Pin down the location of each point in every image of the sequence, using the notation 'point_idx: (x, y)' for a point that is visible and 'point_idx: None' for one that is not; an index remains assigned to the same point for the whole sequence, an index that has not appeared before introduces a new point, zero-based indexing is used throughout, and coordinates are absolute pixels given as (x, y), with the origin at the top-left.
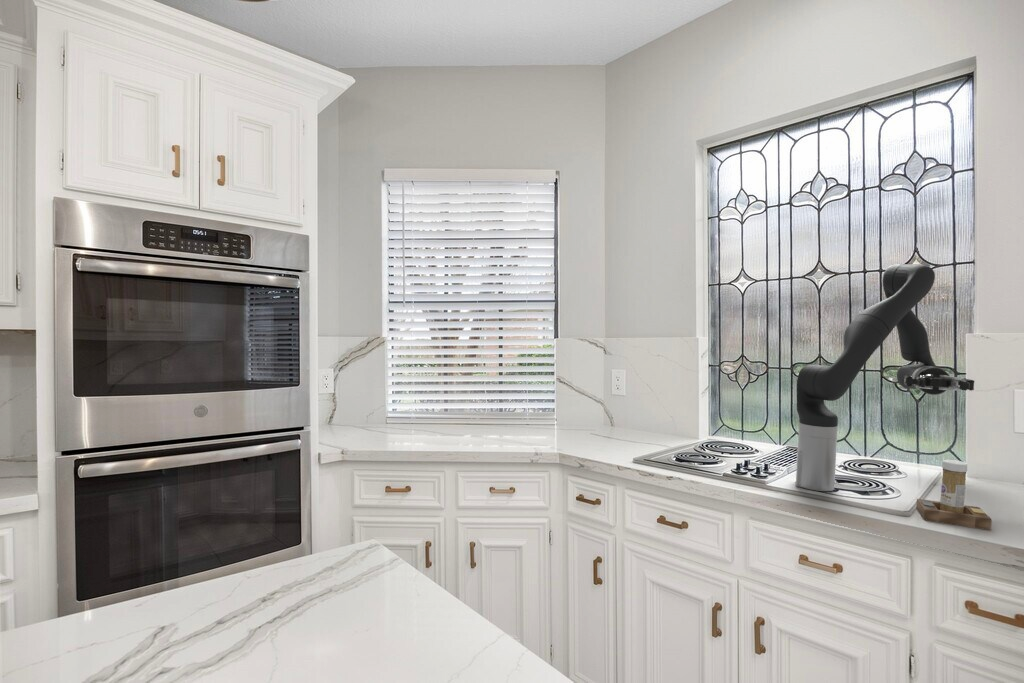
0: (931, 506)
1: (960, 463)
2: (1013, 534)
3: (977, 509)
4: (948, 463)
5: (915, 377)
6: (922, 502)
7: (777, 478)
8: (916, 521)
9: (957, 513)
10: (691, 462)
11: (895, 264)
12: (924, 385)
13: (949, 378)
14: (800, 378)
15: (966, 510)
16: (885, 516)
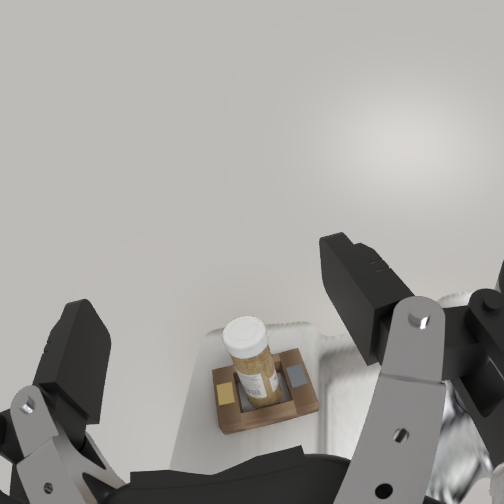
0: (290, 367)
1: (234, 322)
2: (192, 382)
3: (224, 400)
4: (255, 317)
5: (437, 305)
6: (304, 374)
7: None
8: (306, 345)
9: None
10: None
11: None
12: (324, 270)
13: (86, 489)
14: None
15: (240, 411)
16: (344, 334)
